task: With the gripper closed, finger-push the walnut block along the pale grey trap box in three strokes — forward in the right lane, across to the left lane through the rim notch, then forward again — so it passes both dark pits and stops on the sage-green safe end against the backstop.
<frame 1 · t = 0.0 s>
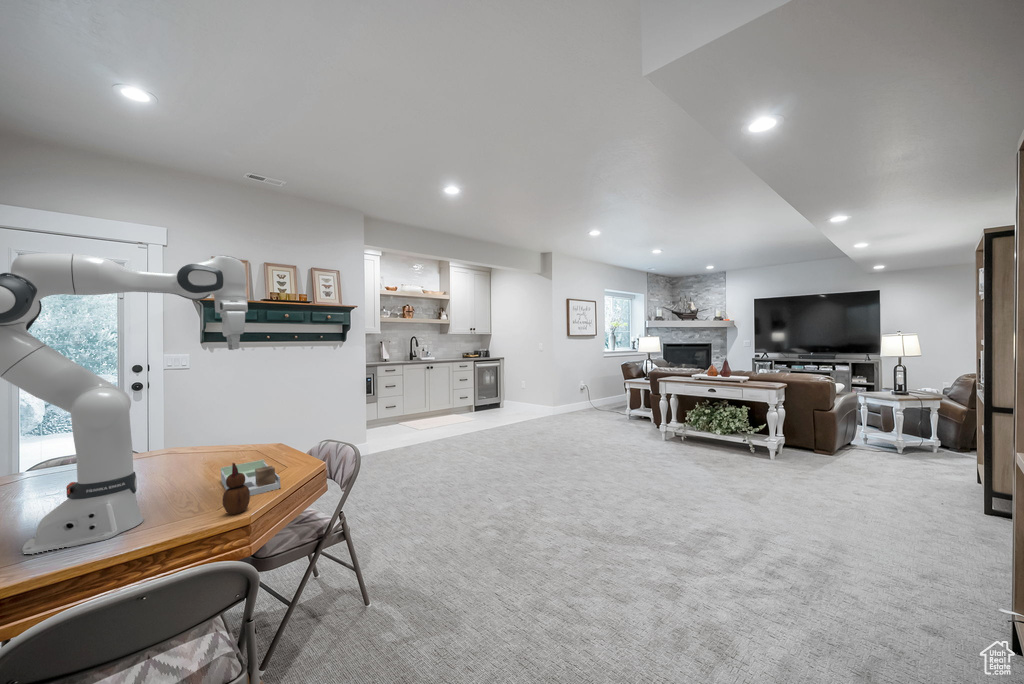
hand: (233, 349, 134), 48 cm above the table, fingers open, 8 cm apart
trap box: (249, 485, 147), on the table
wooden figurine: (237, 512, 122), on the table
walnut block: (265, 483, 141), point 2 cm above the table, touching trap box
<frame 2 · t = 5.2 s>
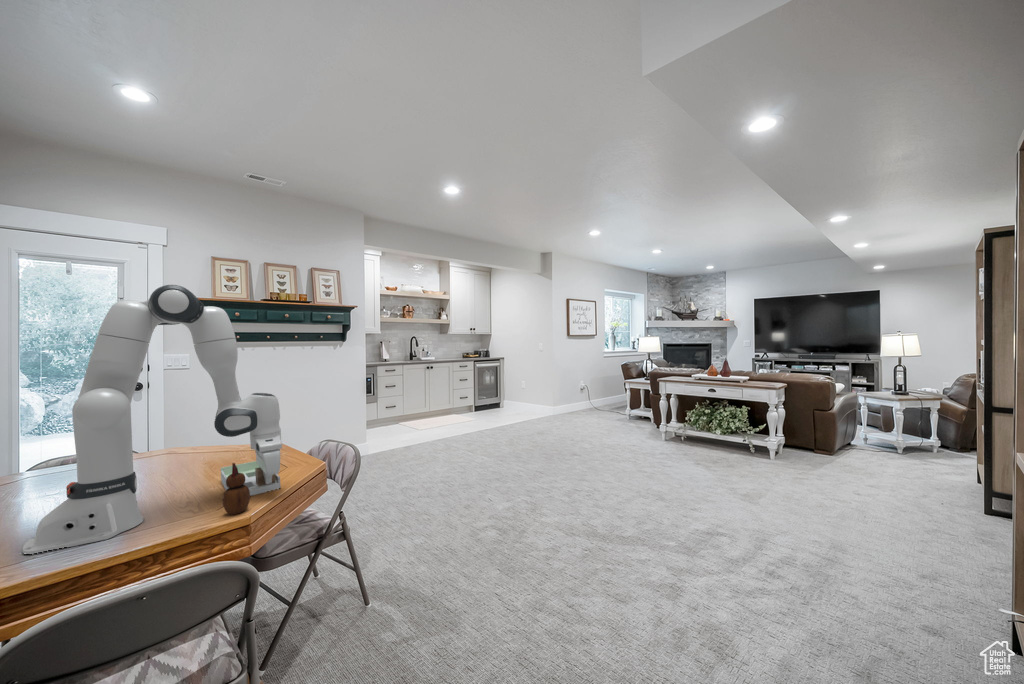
hand: (268, 482, 138), 3 cm above the table, fingers closed
walnut block: (265, 482, 142), point 2 cm above the table, touching gripper
everything else where it was.
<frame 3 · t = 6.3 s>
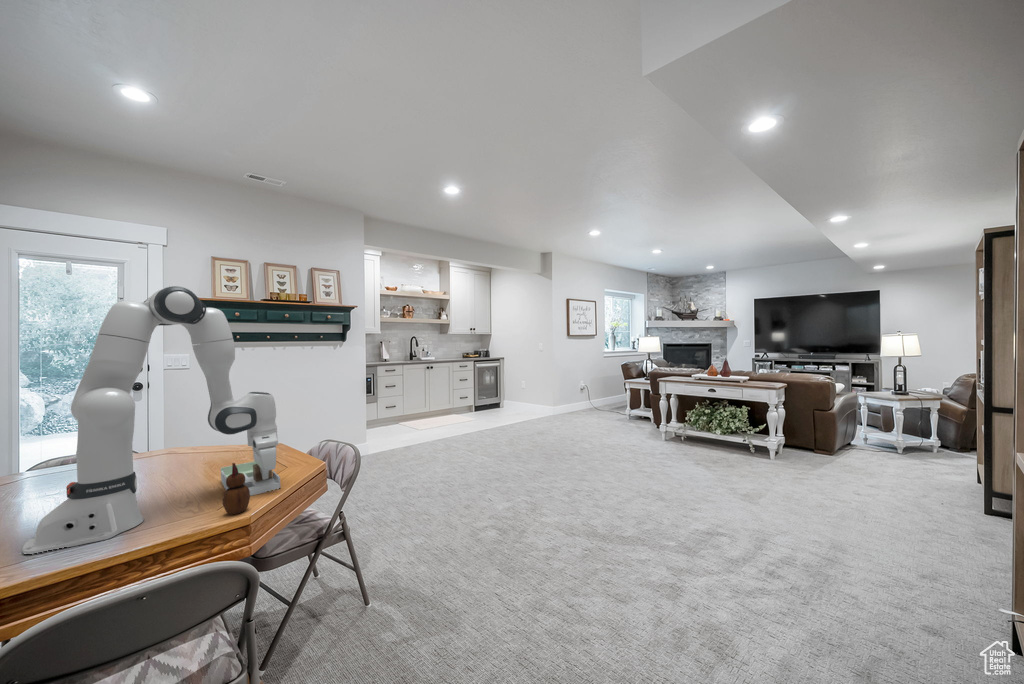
hand: (264, 478, 143), 3 cm above the table, fingers closed
walnut block: (262, 478, 147), point 2 cm above the table, touching gripper, trap box
everything else where it was.
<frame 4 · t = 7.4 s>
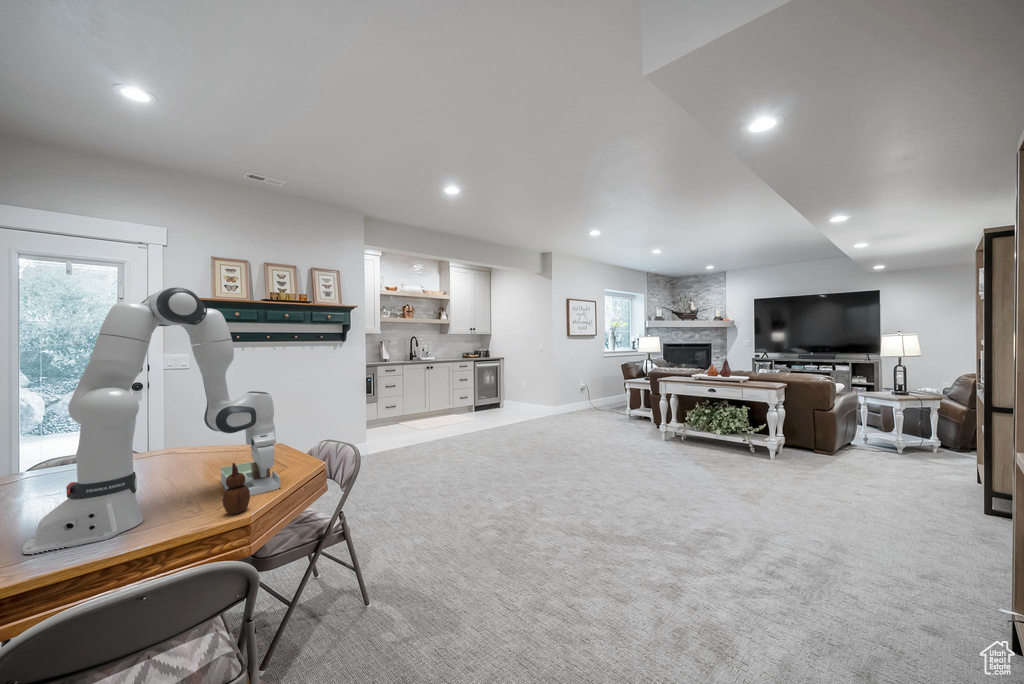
hand: (262, 476, 145), 3 cm above the table, fingers closed
walnut block: (261, 476, 149), point 2 cm above the table, touching gripper, trap box
everything else where it was.
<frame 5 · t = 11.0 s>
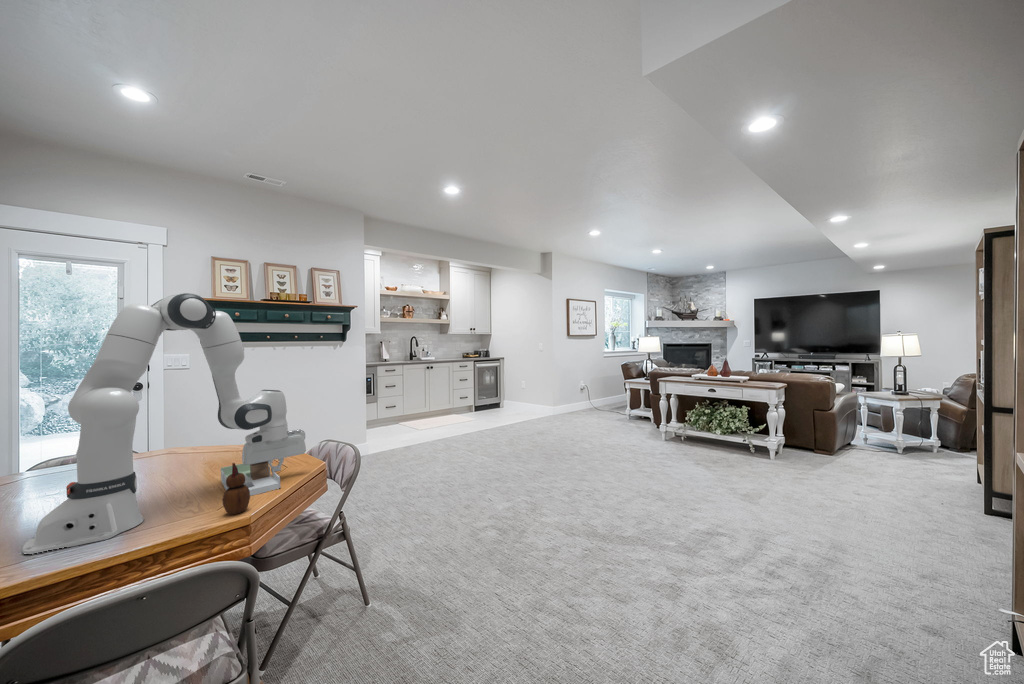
hand: (276, 471, 151), 3 cm above the table, fingers closed
nothing on the table moved.
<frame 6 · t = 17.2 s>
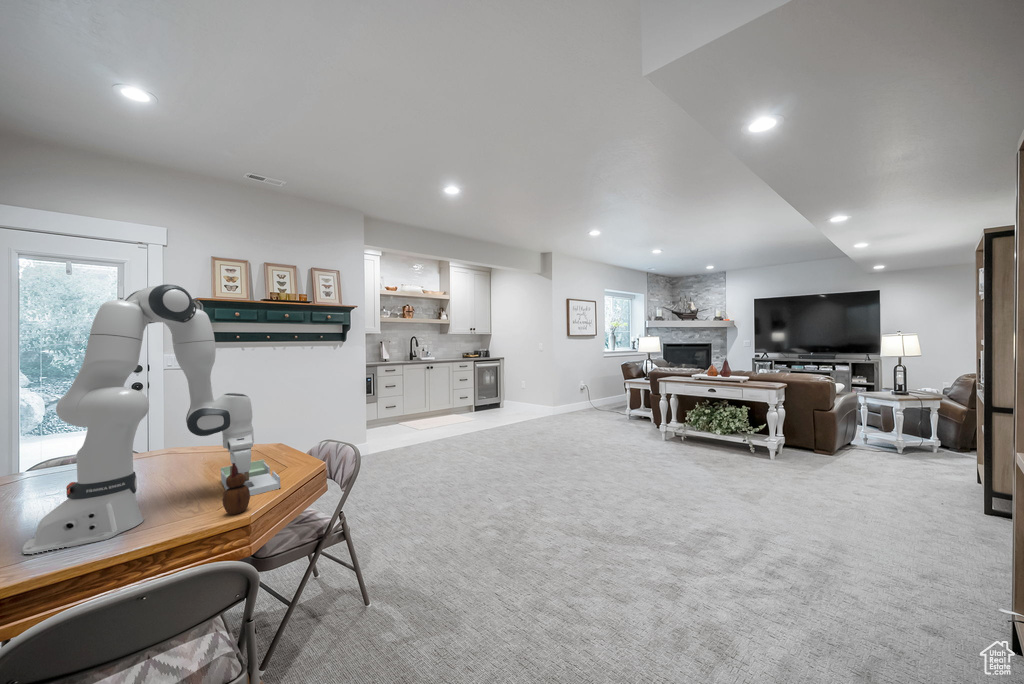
hand: (240, 480, 142), 3 cm above the table, fingers closed
walnut block: (239, 480, 146), point 2 cm above the table, touching gripper
everything else where it was.
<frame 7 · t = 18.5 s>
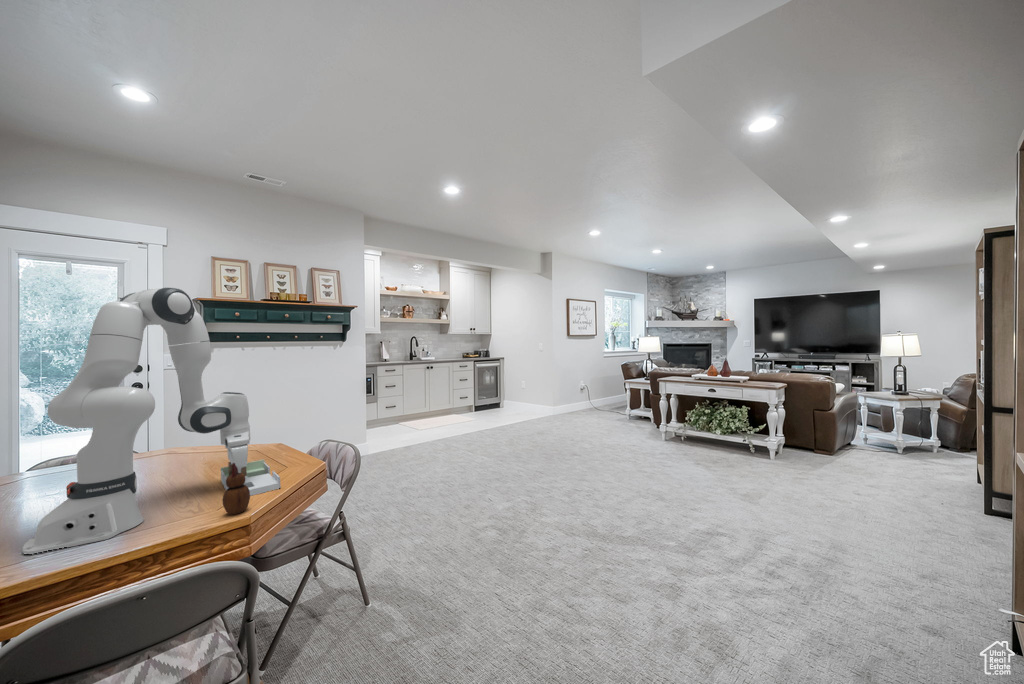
hand: (237, 475, 148), 3 cm above the table, fingers closed
walnut block: (237, 475, 152), point 2 cm above the table, touching gripper
everything else where it was.
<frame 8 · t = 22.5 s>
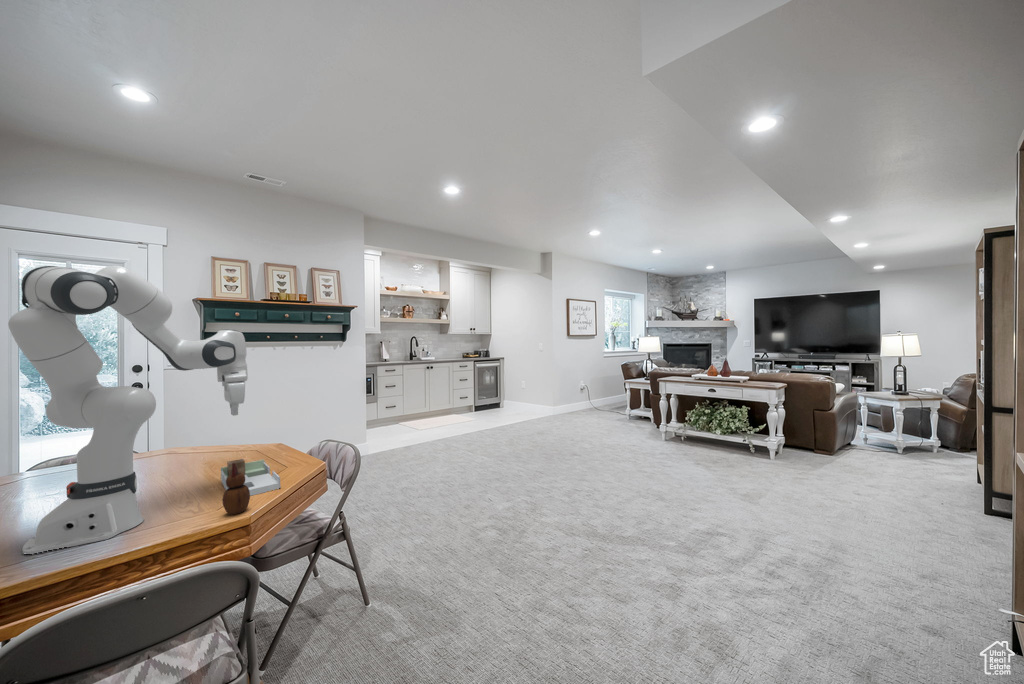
hand: (234, 415, 146), 25 cm above the table, fingers closed
walnut block: (236, 474, 153), point 2 cm above the table, touching trap box
everything else where it was.
at the end: walnut block 0.4 cm from the target spot on the trap box, point 2.0 cm above the trap box's base; walnut block tilted 0° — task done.
